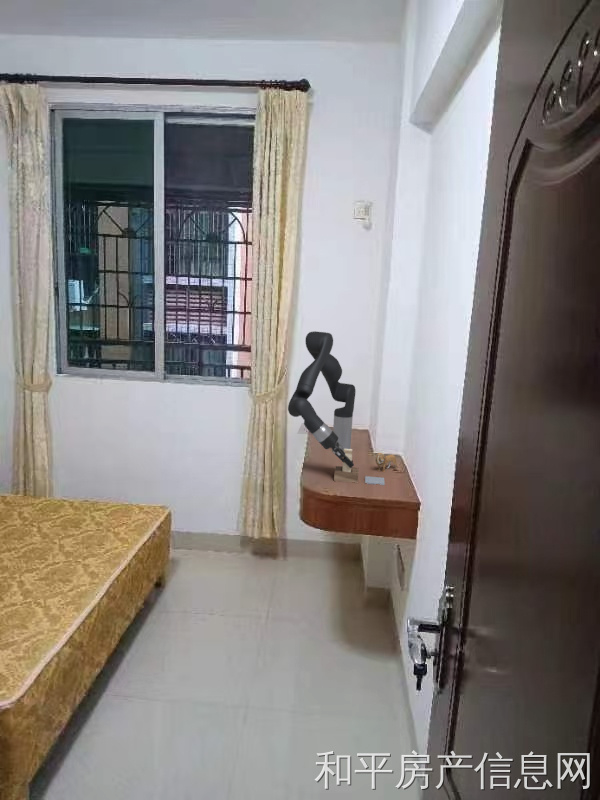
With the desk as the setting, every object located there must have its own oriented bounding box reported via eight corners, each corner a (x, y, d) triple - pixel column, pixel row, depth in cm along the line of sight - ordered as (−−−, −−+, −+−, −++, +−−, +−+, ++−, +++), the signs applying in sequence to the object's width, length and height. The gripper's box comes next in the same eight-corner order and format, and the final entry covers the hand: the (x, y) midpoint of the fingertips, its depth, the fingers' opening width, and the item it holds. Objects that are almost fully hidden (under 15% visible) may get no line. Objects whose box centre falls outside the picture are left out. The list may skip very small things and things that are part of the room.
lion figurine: (381, 474, 260) (382, 455, 258) (371, 471, 263) (372, 452, 262) (400, 468, 270) (401, 449, 269) (390, 465, 274) (392, 446, 272)
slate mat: (365, 477, 255) (365, 476, 255) (383, 479, 254) (384, 477, 254) (365, 483, 247) (365, 482, 247) (384, 485, 246) (384, 483, 246)
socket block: (335, 473, 258) (335, 465, 257) (358, 475, 257) (358, 467, 256) (333, 480, 248) (334, 472, 247) (357, 482, 247) (358, 474, 246)
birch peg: (342, 473, 254) (344, 448, 252) (350, 473, 254) (352, 449, 252) (342, 475, 251) (343, 450, 249) (350, 476, 250) (352, 451, 248)
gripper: (332, 434, 242) (360, 464, 244) (330, 425, 256) (357, 454, 258) (318, 446, 243) (346, 475, 245) (317, 437, 257) (344, 465, 259)
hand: (351, 464), depth 251 cm, fingers closed on birch peg, 4 cm apart
